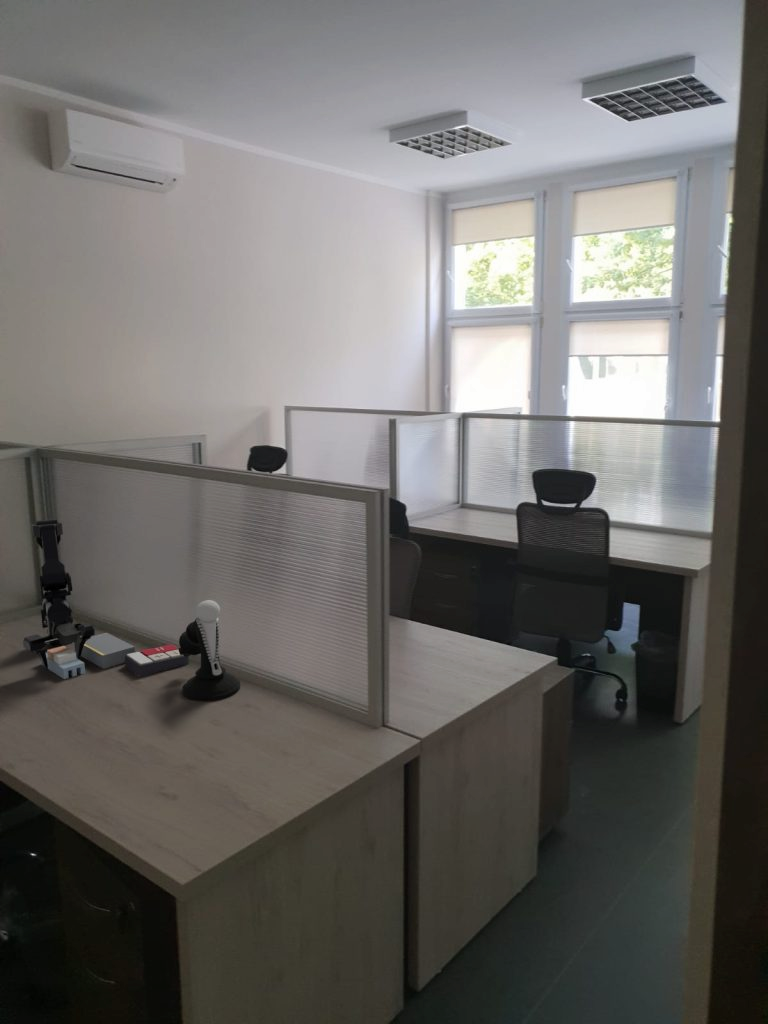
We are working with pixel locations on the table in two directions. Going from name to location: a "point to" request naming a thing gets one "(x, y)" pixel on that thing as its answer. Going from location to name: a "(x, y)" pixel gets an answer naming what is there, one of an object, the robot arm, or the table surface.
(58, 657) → the off-white block
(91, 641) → the dock
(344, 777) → the table surface
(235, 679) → the sculpture
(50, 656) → the salmon brown block
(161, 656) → the grey red white box
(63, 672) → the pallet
